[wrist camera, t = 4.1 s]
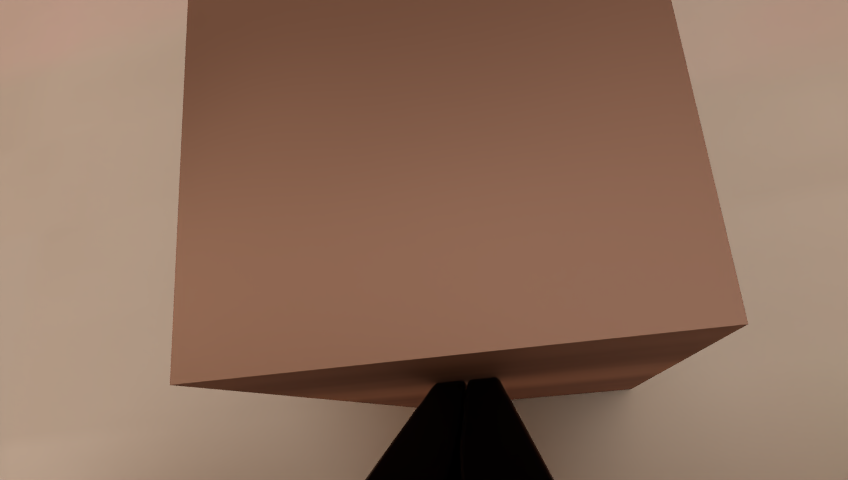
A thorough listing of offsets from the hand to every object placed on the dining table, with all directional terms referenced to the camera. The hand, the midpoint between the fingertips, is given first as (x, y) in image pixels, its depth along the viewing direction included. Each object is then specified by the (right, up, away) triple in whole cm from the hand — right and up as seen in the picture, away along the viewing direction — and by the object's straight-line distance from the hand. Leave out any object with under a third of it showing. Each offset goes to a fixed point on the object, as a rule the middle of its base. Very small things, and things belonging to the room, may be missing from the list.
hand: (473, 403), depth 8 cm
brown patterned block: (+1, +7, +9) cm, 11 cm away
